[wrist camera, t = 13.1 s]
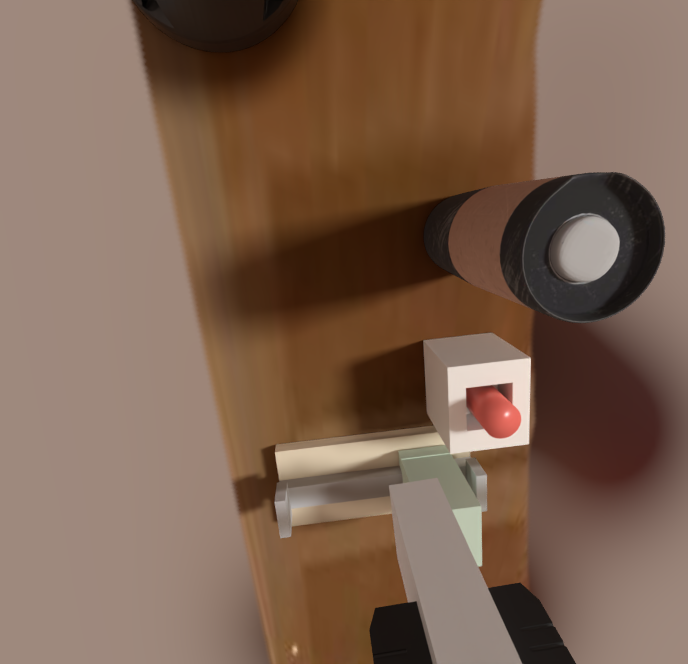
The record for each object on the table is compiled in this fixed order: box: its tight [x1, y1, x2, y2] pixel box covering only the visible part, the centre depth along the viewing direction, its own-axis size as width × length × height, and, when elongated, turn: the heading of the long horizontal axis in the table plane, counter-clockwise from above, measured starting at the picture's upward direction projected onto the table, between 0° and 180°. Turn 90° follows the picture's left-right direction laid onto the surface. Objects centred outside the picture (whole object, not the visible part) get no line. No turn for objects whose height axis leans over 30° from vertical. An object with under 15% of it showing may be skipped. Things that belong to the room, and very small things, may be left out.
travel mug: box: [424, 172, 665, 323], centre depth 31 cm, size 8×8×20 cm
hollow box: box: [423, 333, 531, 454], centre depth 40 cm, size 8×7×8 cm
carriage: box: [398, 445, 482, 566], centre depth 40 cm, size 6×5×10 cm
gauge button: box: [466, 385, 521, 439], centre depth 36 cm, size 3×3×5 cm
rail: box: [275, 425, 487, 538], centre depth 44 cm, size 9×20×6 cm, turn 96°
